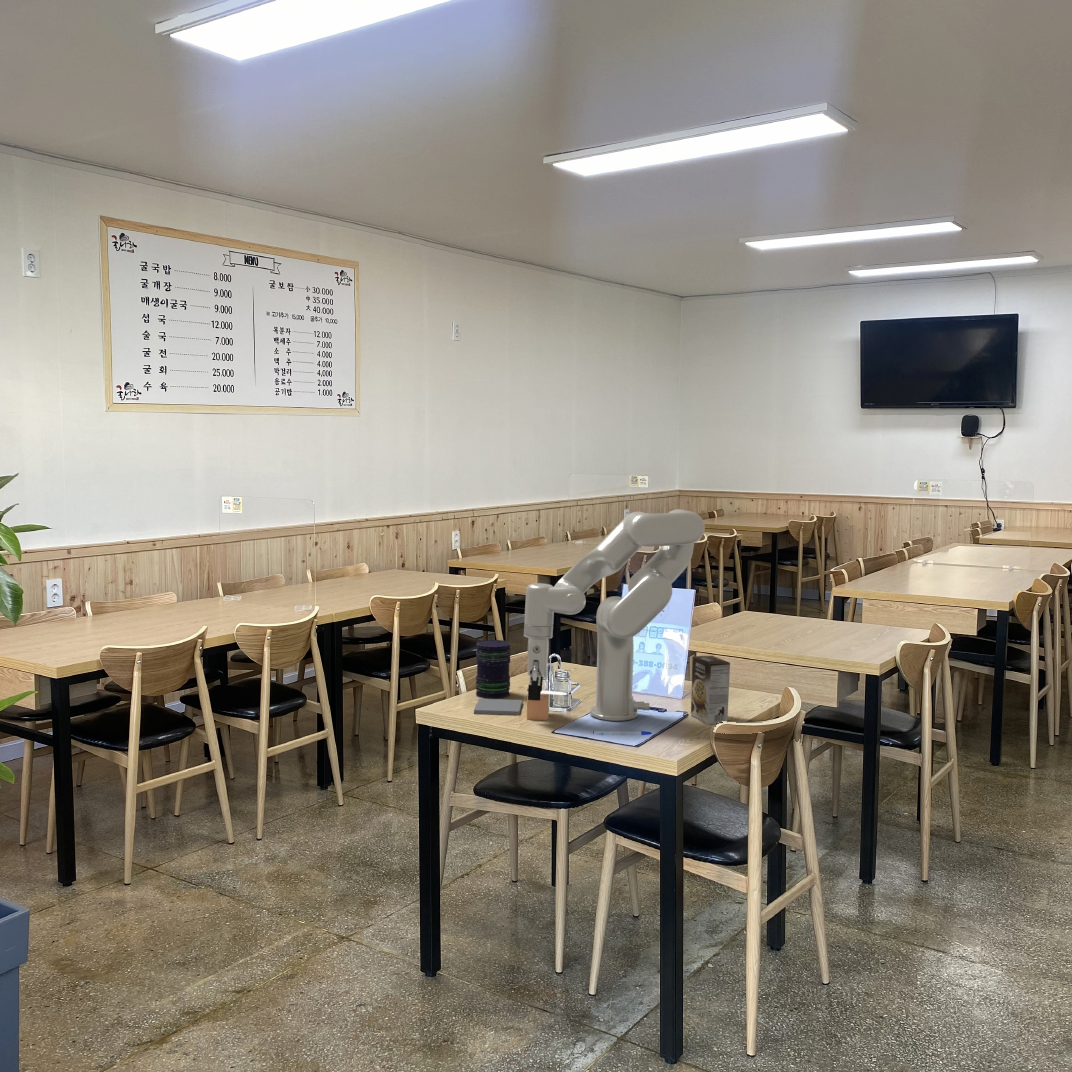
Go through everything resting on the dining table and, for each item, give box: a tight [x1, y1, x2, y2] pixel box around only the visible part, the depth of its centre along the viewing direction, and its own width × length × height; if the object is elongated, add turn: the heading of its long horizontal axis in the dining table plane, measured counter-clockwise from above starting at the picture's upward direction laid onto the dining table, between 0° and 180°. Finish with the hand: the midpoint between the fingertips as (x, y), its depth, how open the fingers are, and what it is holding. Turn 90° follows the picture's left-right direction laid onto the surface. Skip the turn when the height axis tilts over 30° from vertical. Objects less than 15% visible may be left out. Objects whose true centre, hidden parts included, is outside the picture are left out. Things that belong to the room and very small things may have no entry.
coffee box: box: [690, 655, 731, 725], centre depth 261 cm, size 9×6×16 cm
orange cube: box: [526, 693, 550, 721], centre depth 261 cm, size 6×6×6 cm
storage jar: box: [475, 639, 512, 699], centre depth 283 cm, size 10×10×15 cm
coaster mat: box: [473, 698, 523, 716], centre depth 268 cm, size 12×12×1 cm
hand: (535, 695), depth 260 cm, fingers open, 9 cm apart
